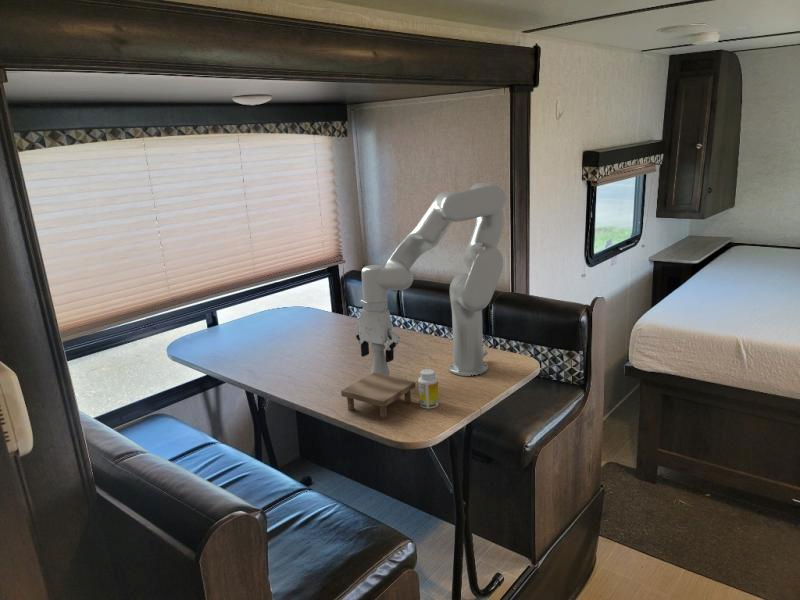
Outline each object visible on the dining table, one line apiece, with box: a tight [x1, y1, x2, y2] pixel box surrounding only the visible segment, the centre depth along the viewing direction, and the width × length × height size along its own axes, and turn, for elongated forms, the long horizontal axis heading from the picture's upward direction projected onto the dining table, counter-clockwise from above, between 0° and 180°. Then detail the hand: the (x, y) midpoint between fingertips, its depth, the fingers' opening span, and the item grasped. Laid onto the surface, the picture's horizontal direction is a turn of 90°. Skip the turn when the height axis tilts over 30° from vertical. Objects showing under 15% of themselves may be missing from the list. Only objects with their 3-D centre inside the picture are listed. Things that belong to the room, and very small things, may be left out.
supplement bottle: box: [417, 368, 440, 410], centre depth 161 cm, size 6×6×10 cm
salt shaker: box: [370, 343, 390, 376], centre depth 180 cm, size 6×6×13 cm
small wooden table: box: [340, 373, 416, 421], centre depth 163 cm, size 15×15×6 cm
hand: (377, 358), depth 180 cm, fingers open, 9 cm apart
